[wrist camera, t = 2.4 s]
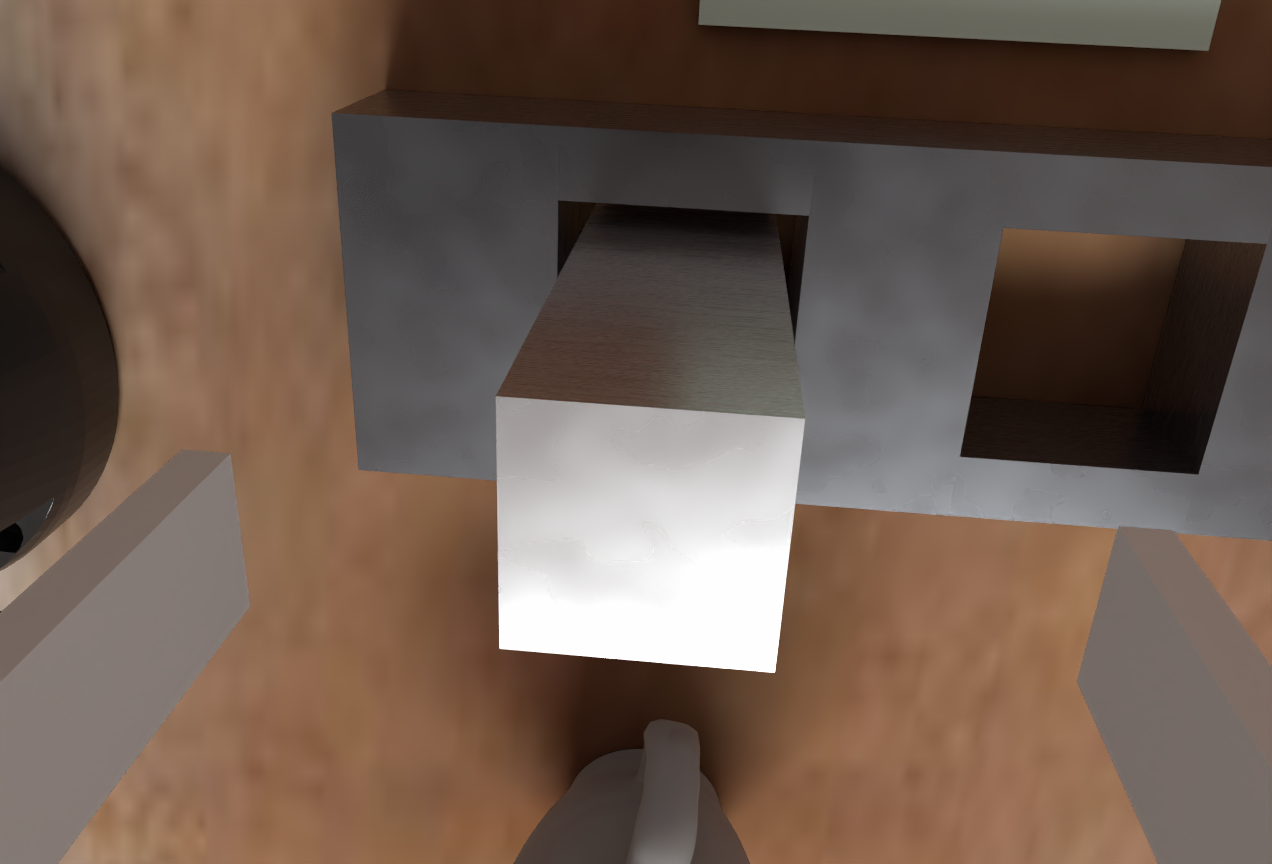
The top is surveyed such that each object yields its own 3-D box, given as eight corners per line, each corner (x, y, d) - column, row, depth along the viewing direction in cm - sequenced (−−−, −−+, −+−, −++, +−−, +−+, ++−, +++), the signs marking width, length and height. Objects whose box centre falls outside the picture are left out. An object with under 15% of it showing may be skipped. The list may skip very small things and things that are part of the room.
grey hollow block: (402, 408, 31) (358, 469, 28) (384, 89, 28) (331, 113, 24) (1242, 470, 30) (1311, 543, 26) (1345, 143, 26) (1443, 176, 23)
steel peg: (598, 349, 30) (499, 648, 18) (603, 190, 28) (495, 396, 16) (758, 361, 30) (774, 673, 17) (774, 200, 28) (805, 418, 15)
